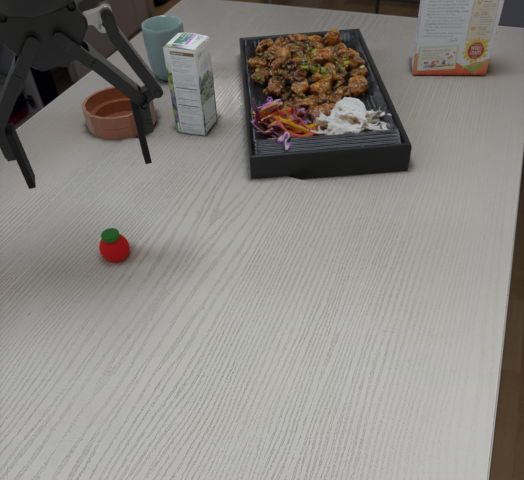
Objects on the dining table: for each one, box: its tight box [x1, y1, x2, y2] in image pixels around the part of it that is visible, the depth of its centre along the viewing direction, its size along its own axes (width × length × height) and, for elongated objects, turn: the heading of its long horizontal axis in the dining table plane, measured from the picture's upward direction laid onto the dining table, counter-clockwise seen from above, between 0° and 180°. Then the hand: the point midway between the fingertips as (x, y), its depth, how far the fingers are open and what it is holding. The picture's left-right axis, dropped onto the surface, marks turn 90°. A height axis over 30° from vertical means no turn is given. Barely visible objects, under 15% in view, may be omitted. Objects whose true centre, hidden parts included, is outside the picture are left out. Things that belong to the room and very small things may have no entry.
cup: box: [140, 14, 185, 82], centre depth 107 cm, size 8×8×10 cm
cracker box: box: [410, 0, 505, 76], centre depth 98 cm, size 14×6×21 cm, turn 82°
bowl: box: [81, 85, 157, 140], centre depth 97 cm, size 12×12×4 cm
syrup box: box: [163, 32, 218, 136], centre depth 92 cm, size 6×6×14 cm
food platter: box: [239, 27, 413, 180], centre depth 95 cm, size 45×25×10 cm, turn 4°
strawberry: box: [98, 227, 131, 263], centre depth 73 cm, size 4×4×4 cm
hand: (90, 170), depth 64 cm, fingers open, 13 cm apart
